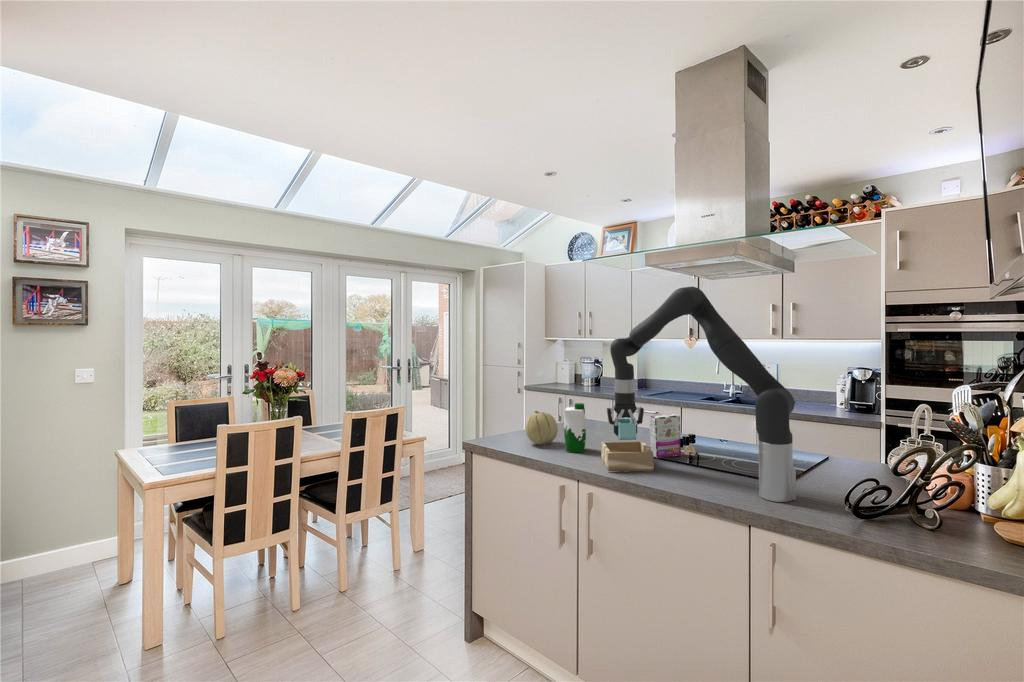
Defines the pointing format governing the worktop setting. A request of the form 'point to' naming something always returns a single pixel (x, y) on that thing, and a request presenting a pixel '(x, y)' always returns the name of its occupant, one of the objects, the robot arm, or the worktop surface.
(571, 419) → the milk carton
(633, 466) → the pine crate
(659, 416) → the candy bar box
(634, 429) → the teal crate
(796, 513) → the worktop surface
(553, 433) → the cantaloupe
